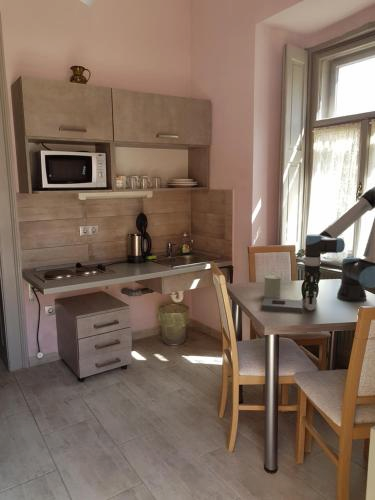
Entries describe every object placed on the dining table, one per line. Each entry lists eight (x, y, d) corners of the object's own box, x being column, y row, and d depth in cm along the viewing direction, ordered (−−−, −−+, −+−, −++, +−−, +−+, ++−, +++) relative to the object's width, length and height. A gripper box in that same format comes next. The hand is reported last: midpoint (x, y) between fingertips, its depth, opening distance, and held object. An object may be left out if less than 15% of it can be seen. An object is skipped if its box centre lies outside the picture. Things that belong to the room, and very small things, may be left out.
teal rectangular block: (315, 306, 208) (316, 291, 206) (315, 309, 204) (316, 293, 203) (305, 306, 209) (306, 291, 208) (305, 308, 205) (306, 293, 204)
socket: (302, 305, 210) (302, 300, 210) (302, 313, 197) (302, 308, 197) (264, 302, 216) (264, 297, 216) (261, 309, 203) (261, 305, 203)
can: (280, 299, 222) (281, 278, 220) (263, 298, 224) (264, 277, 222) (280, 294, 231) (280, 274, 229) (264, 294, 233) (264, 274, 231)
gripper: (304, 260, 214) (303, 300, 218) (304, 268, 194) (302, 312, 197) (319, 261, 212) (317, 301, 216) (320, 269, 191) (318, 314, 195)
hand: (310, 307), depth 206 cm, fingers open, 9 cm apart
